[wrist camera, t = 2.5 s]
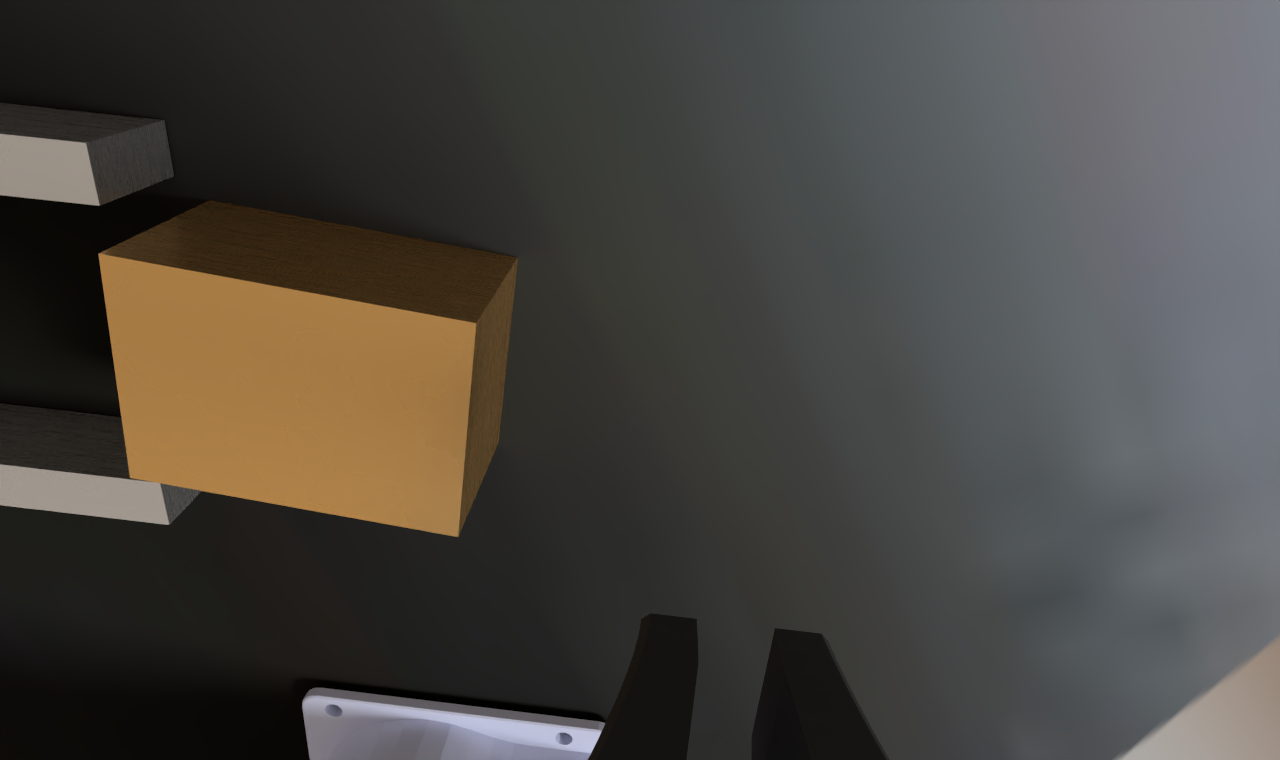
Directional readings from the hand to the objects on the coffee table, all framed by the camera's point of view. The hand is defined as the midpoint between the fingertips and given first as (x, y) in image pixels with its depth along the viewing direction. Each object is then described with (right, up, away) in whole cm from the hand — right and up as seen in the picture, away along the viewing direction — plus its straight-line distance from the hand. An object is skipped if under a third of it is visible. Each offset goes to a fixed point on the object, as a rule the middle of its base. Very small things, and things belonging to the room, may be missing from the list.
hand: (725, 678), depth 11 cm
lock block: (-8, +5, +9) cm, 13 cm away
